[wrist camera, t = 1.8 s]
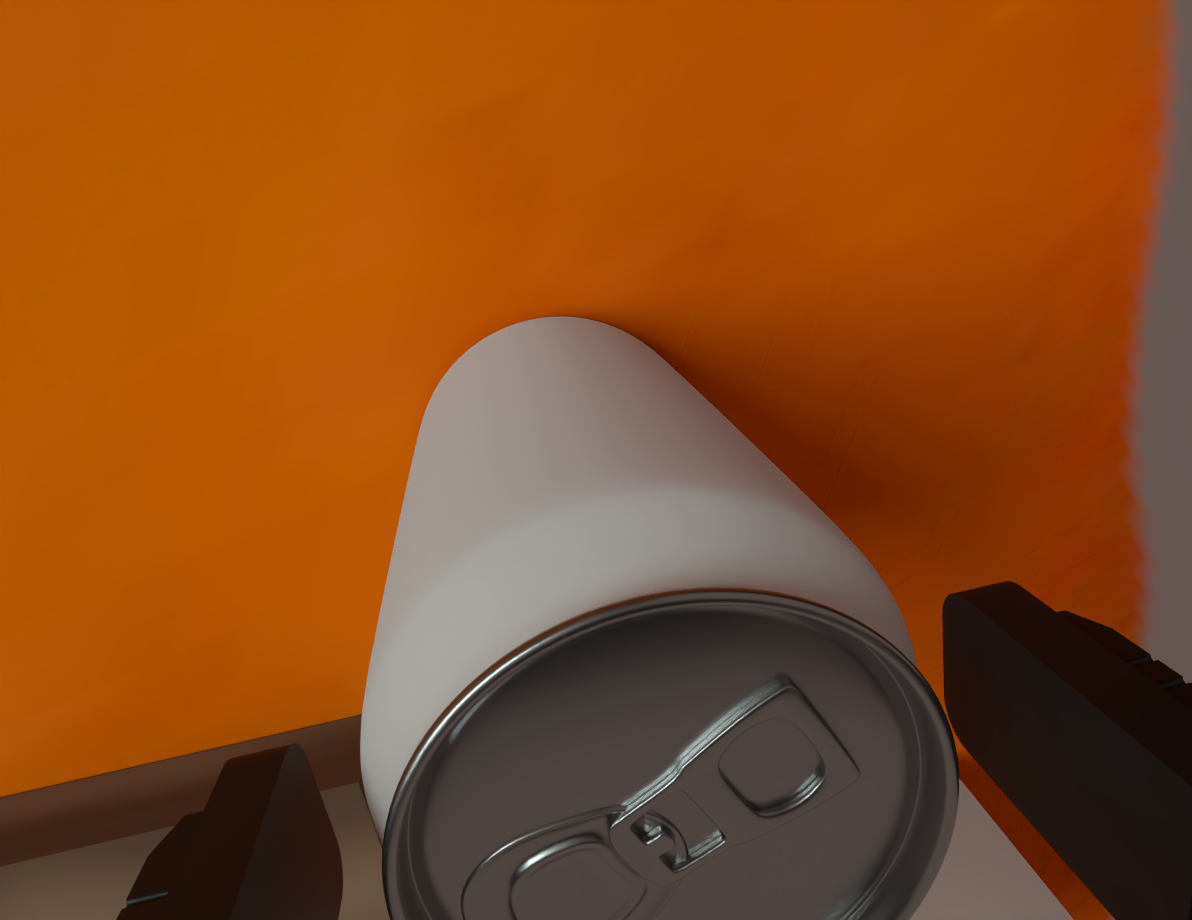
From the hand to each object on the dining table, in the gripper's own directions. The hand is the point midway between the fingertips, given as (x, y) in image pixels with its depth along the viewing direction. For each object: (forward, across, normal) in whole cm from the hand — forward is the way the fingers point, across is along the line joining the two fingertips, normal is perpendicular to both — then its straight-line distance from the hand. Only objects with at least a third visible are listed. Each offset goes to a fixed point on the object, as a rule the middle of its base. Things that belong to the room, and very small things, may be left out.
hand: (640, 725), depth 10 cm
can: (+10, 0, 0) cm, 10 cm away
